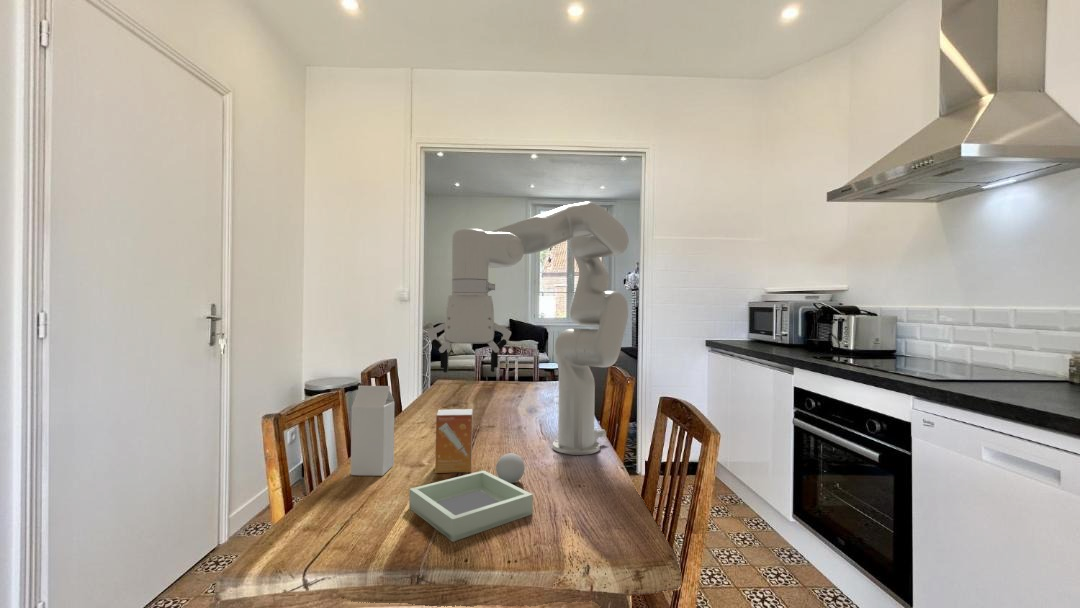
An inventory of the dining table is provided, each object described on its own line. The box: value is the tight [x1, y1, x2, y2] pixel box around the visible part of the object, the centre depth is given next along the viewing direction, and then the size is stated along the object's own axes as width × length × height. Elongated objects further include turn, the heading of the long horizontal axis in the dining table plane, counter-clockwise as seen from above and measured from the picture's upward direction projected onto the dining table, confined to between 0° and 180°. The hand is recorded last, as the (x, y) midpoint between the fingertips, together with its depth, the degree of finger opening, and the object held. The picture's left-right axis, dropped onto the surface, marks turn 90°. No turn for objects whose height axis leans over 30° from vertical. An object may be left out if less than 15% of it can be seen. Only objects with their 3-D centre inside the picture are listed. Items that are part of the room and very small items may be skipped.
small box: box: [434, 408, 474, 474], centre depth 107 cm, size 8×6×13 cm
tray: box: [408, 470, 534, 543], centre depth 84 cm, size 16×16×4 cm
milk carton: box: [350, 385, 395, 477], centre depth 105 cm, size 7×7×19 cm
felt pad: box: [436, 490, 499, 515], centre depth 84 cm, size 10×10×1 cm
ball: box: [495, 452, 526, 484], centre depth 98 cm, size 6×6×6 cm
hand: (469, 371), depth 97 cm, fingers open, 9 cm apart
